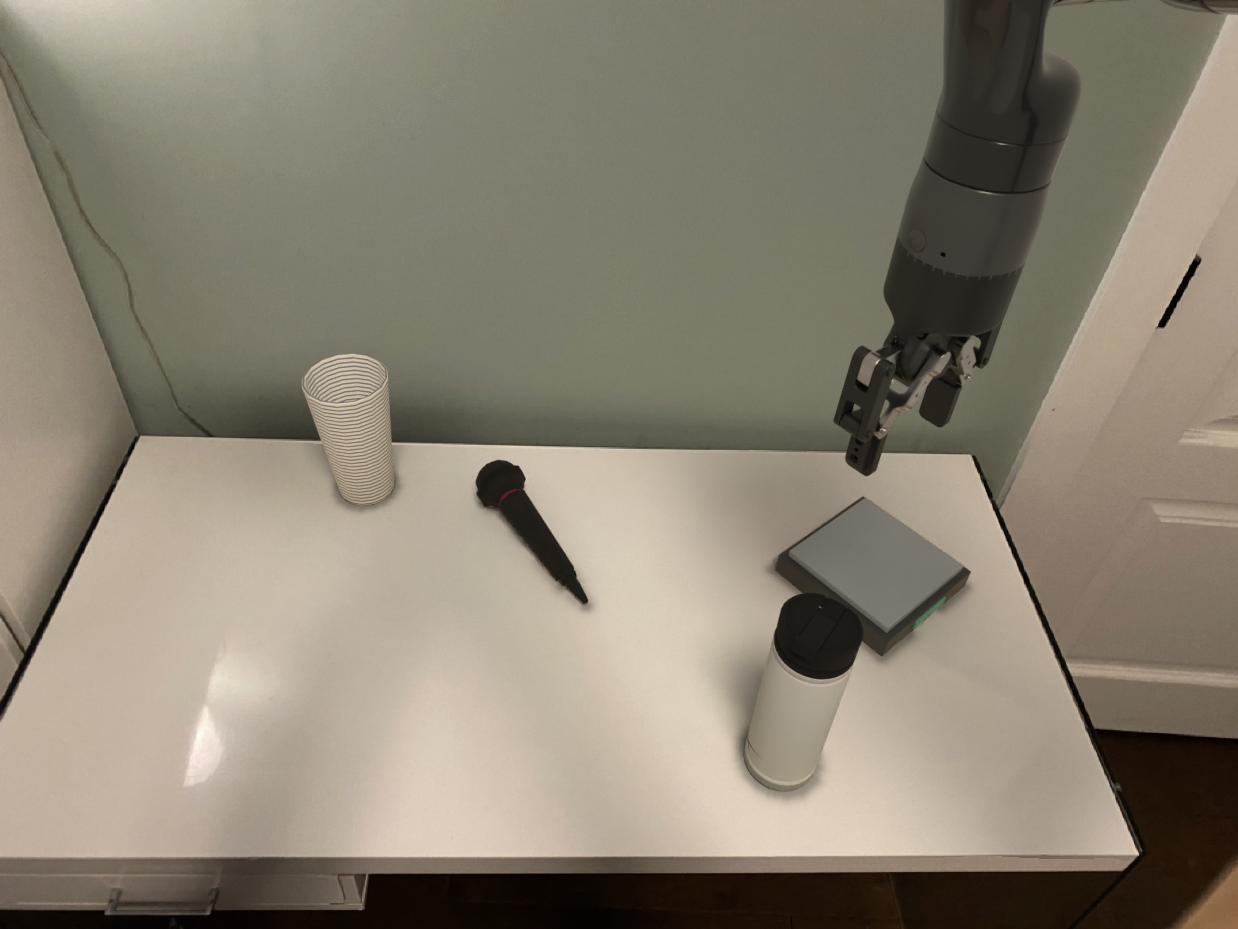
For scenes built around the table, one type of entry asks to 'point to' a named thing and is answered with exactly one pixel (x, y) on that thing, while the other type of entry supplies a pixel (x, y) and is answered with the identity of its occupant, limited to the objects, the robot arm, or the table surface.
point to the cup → (353, 423)
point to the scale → (874, 571)
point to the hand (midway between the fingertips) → (897, 443)
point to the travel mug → (801, 689)
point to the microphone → (526, 519)
